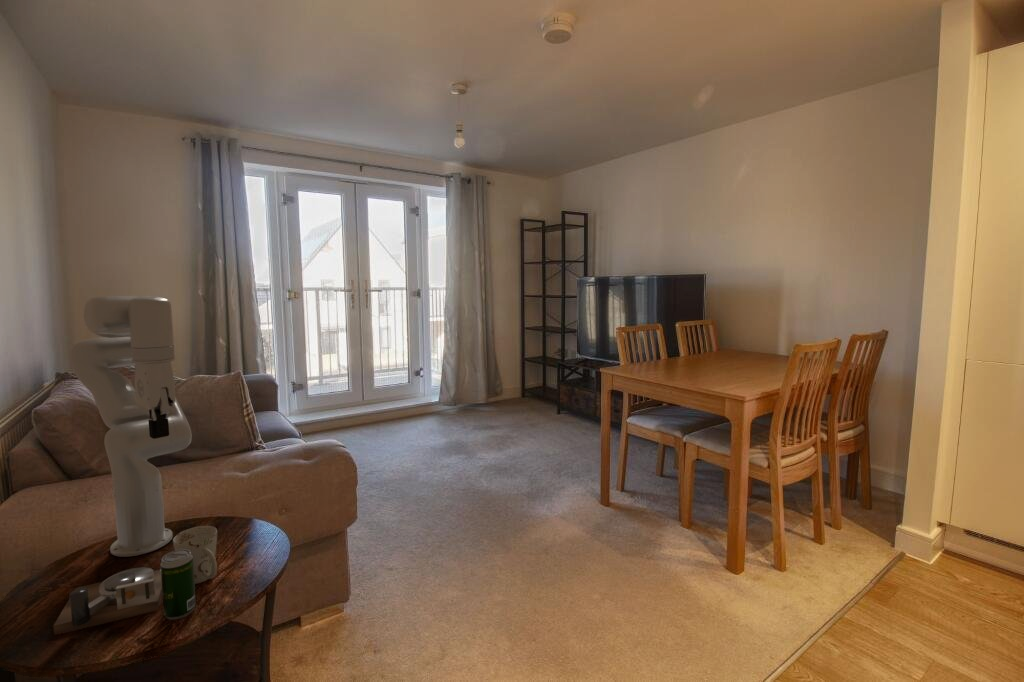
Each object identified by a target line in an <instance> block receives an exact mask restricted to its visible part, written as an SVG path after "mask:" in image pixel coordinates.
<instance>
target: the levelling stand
mask: <svg viewBox="0 0 1024 682" xmlns="http://www.w3.org/2000/svg"><path fill="white" fill-rule="evenodd" d="M153 571H154V578H153V579H148V580H144V581H139V582H134V583H130V584H125V585H121V586H117V587H116V597H117V604H113V605H109V604H107V605H105V606H104V607H102V608H100V609H99V610H97V611H96V612H94V613H93V614H91V615H90V618H91V619H90V620H89V621H88V622H87V623H85V624H83V625H79V626H73V625H72V617H71V606H70V598H69V599H68V600H67V602H66V604H65V606H64V607H63V608H62V611H61V612H60V614H59V616H58V617H57V619H56V621H55V622H54V624H53V635H55V634H59V635H61V634H60V633H63V634H67V633H71V632H75V631H79V630H83V628H84V629H87V627H88V628H91V627H95V626H99V625H104V624H108V623H113V622H115V621H120V620H124V618H125V619H128V618H133V617H136V616H140V615H141V616H142V615H144V614H149V613H153V612H154V613H155V612H157V611H159V610H160V608H161V607H160V606H161V603H162V601H163V594H162V581H161V569H158V570H153ZM154 579H155V581H154ZM102 582H103V581H100V582H95V583H91V584H87V585H82V586H78V587H75V589H78V588H82V587H86V588H88V596H89V603H90V602H92V601H93V600H95V599H97V598H98V597H100V595H99V586H100V584H101V583H102ZM75 589H74V590H75ZM78 629H79V630H78ZM70 631H71V632H70ZM55 636H56V635H55Z"/></svg>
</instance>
